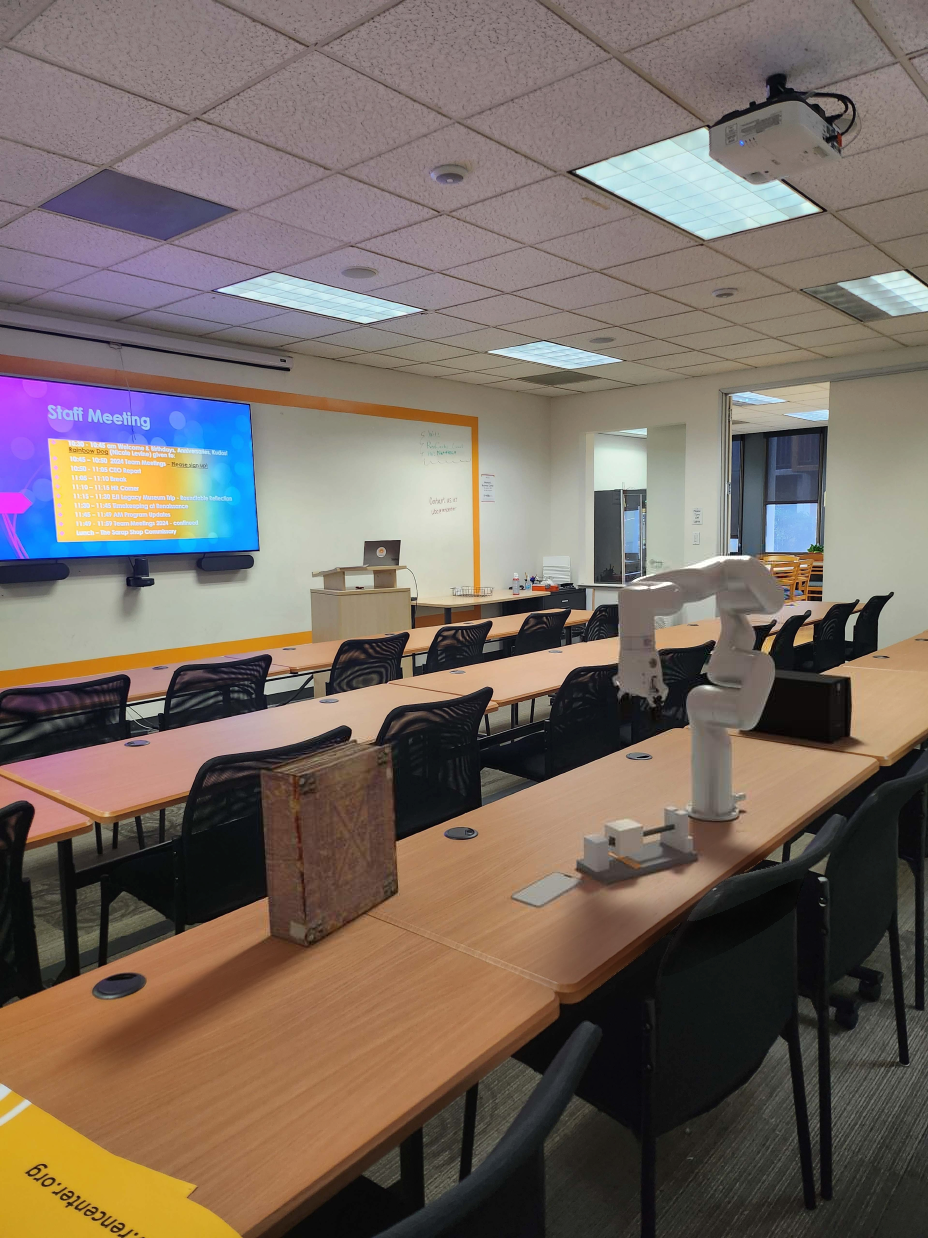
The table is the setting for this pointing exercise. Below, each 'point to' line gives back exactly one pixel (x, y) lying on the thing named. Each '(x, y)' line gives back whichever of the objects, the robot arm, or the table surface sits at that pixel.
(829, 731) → the uninterruptible power supply
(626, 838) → the notched cream block
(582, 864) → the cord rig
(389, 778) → the book
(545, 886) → the smartphone
